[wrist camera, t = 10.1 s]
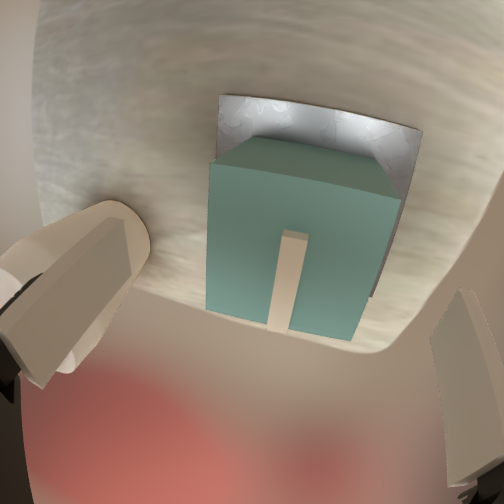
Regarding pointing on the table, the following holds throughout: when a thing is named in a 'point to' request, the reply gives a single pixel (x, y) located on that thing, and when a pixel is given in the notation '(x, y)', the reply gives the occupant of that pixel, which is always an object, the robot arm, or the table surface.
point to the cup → (56, 245)
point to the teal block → (296, 235)
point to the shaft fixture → (323, 136)
